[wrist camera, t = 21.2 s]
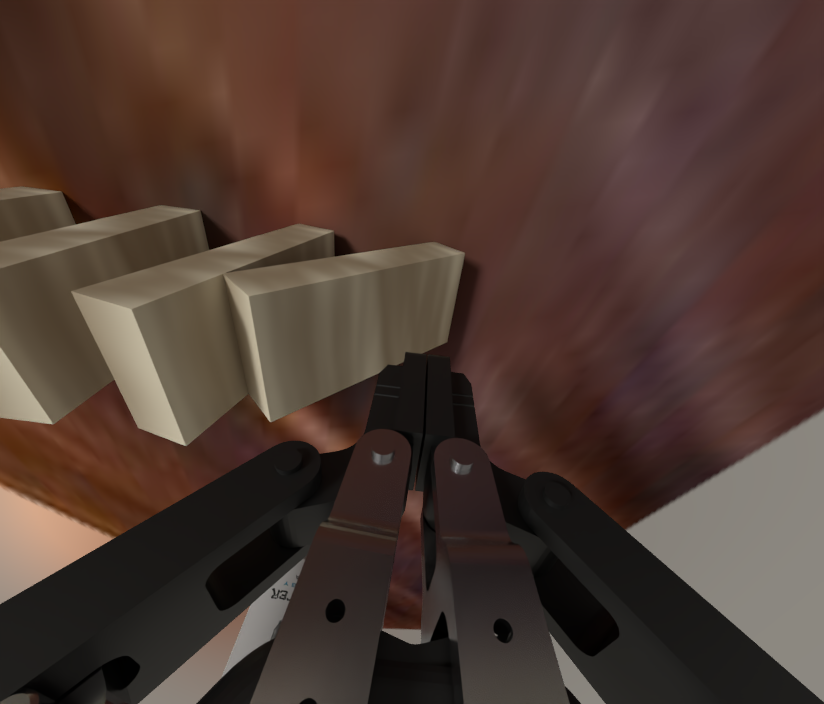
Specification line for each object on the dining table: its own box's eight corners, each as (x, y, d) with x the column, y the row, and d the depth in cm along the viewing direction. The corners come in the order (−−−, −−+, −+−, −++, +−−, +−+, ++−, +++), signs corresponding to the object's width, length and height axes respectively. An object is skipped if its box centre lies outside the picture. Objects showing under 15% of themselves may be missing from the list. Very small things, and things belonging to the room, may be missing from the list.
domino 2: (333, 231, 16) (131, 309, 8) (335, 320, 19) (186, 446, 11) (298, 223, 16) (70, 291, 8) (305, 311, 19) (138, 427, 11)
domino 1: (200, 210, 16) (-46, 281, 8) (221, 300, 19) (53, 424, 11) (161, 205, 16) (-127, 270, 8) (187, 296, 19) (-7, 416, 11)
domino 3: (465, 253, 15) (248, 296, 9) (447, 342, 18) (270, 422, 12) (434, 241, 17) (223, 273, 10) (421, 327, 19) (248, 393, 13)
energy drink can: (335, 563, 36) (282, 788, 24) (303, 577, 39) (239, 788, 26) (291, 540, 34) (206, 774, 21) (260, 557, 36) (167, 775, 24)
